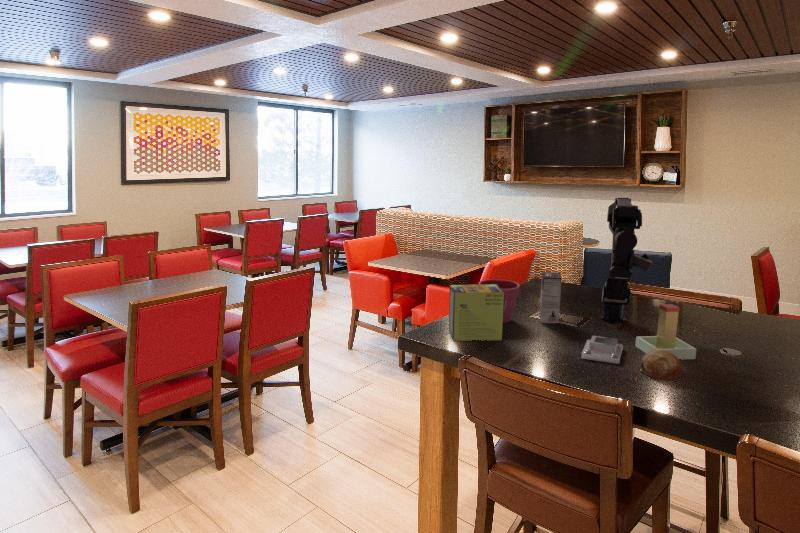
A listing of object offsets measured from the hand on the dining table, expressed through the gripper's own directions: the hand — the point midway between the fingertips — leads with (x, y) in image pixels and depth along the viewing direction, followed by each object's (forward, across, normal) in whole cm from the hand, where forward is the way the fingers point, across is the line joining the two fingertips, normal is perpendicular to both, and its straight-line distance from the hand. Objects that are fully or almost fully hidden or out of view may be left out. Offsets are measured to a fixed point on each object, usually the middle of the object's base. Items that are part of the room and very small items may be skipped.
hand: (619, 295), depth 173 cm
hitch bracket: (+13, -20, +3) cm, 24 cm away
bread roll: (+14, -28, -12) cm, 34 cm away
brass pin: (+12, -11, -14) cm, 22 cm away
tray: (+13, -11, -14) cm, 22 cm away
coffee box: (+13, +8, +22) cm, 27 cm away
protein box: (+14, -19, +41) cm, 47 cm away
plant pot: (+13, +1, +38) cm, 41 cm away
